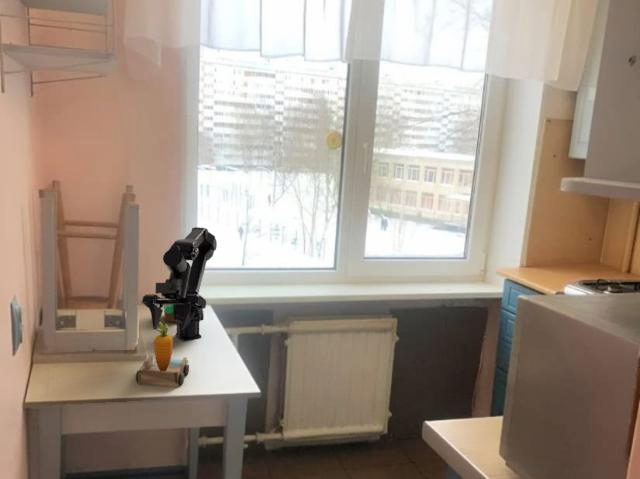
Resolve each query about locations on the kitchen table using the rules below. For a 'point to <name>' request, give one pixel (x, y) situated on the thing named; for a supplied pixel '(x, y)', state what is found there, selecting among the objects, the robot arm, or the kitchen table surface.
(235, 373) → the kitchen table surface
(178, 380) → the cart
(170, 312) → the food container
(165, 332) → the carrot
